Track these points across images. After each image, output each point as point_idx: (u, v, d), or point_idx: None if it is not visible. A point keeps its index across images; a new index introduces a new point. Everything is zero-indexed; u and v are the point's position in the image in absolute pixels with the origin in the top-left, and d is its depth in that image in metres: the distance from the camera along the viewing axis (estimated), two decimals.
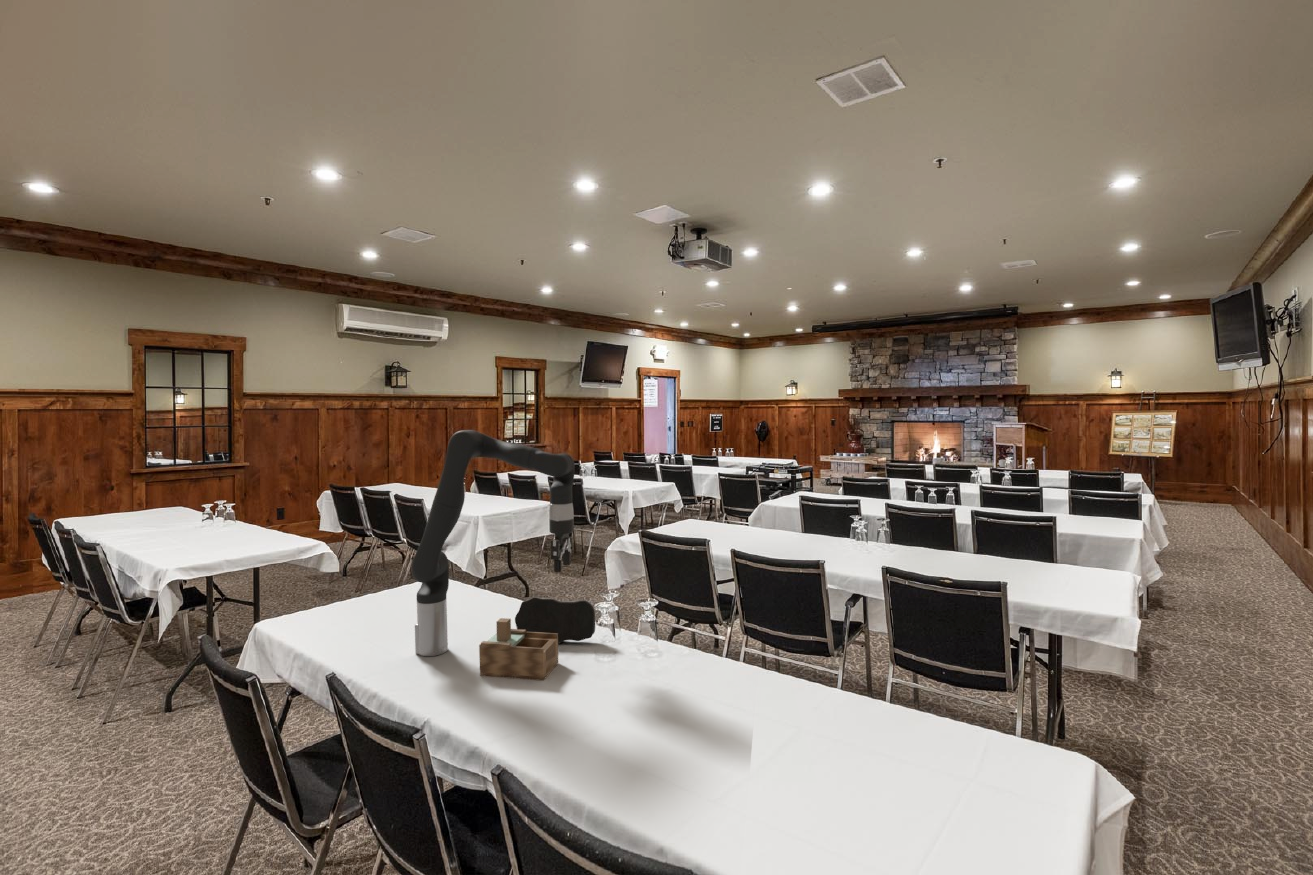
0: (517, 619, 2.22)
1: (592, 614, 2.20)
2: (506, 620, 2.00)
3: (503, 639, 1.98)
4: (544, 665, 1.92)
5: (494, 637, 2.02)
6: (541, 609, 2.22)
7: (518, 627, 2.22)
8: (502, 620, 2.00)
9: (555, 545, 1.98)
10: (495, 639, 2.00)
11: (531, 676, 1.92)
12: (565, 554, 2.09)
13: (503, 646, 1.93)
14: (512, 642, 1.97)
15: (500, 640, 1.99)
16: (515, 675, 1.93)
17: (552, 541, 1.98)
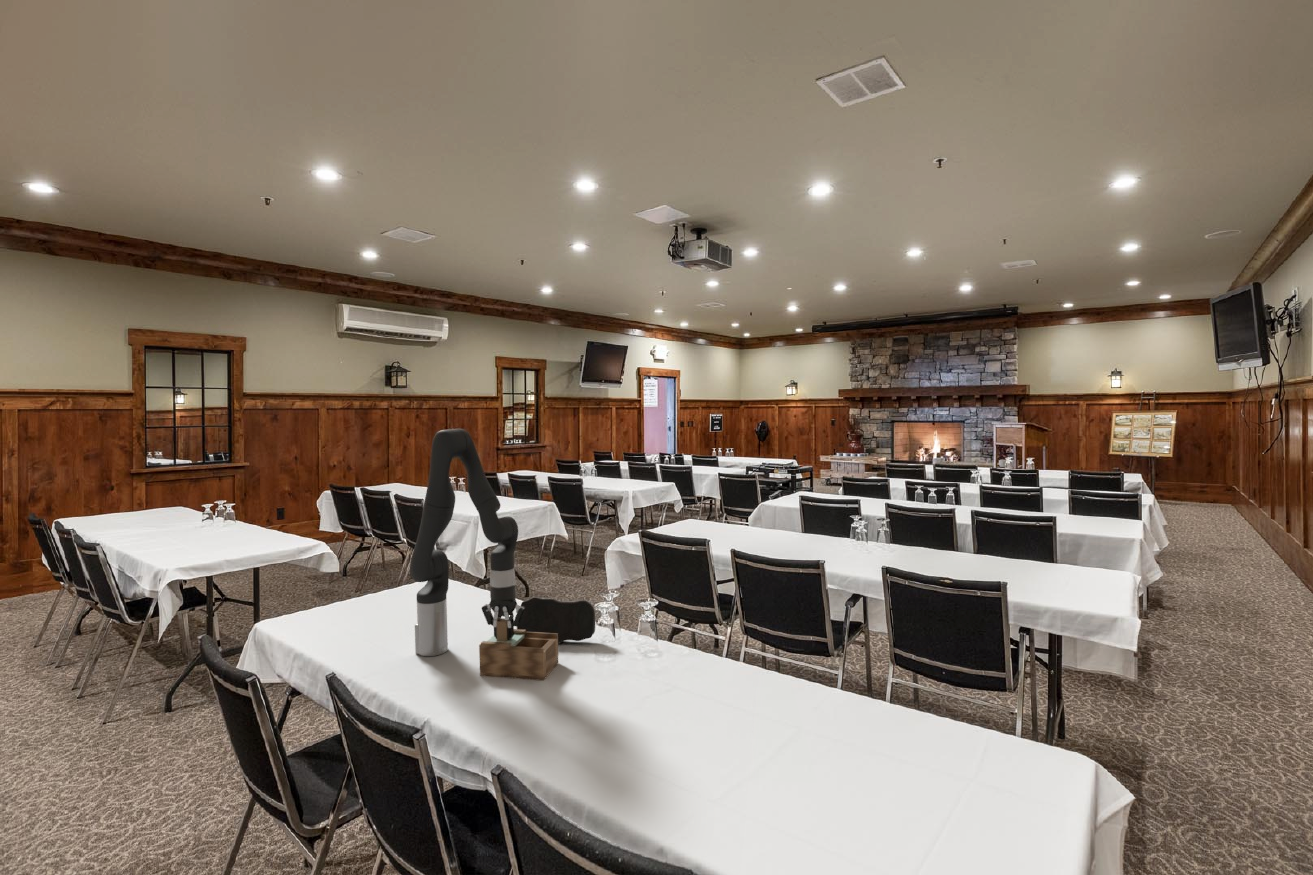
0: None
1: (592, 614, 2.20)
2: None
3: (503, 639, 1.98)
4: (544, 665, 1.92)
5: (494, 637, 2.02)
6: (541, 608, 2.22)
7: (518, 627, 2.22)
8: (502, 620, 2.00)
9: (522, 612, 1.99)
10: (495, 639, 2.00)
11: (531, 676, 1.92)
12: None
13: (503, 646, 1.93)
14: (512, 642, 1.97)
15: (500, 640, 1.99)
16: (515, 675, 1.93)
17: (522, 610, 1.98)
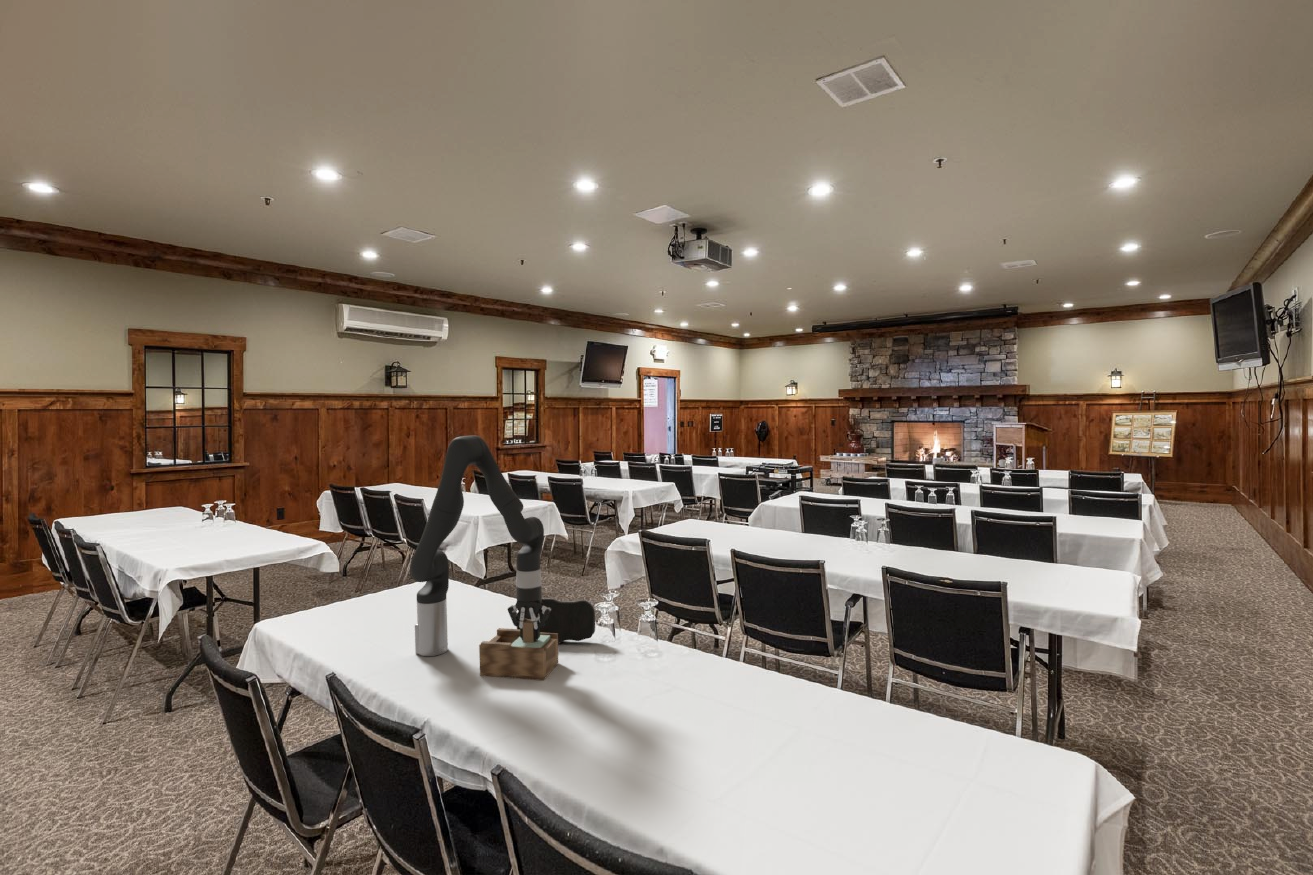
0: None
1: (592, 614, 2.20)
2: None
3: (529, 640, 1.97)
4: (544, 665, 1.92)
5: (520, 638, 2.00)
6: (541, 609, 2.22)
7: (518, 627, 2.22)
8: (528, 621, 1.98)
9: (549, 613, 1.97)
10: (521, 640, 1.98)
11: (531, 676, 1.92)
12: None
13: (503, 646, 1.93)
14: (539, 643, 1.96)
15: (526, 641, 1.97)
16: (515, 675, 1.93)
17: (549, 611, 1.96)
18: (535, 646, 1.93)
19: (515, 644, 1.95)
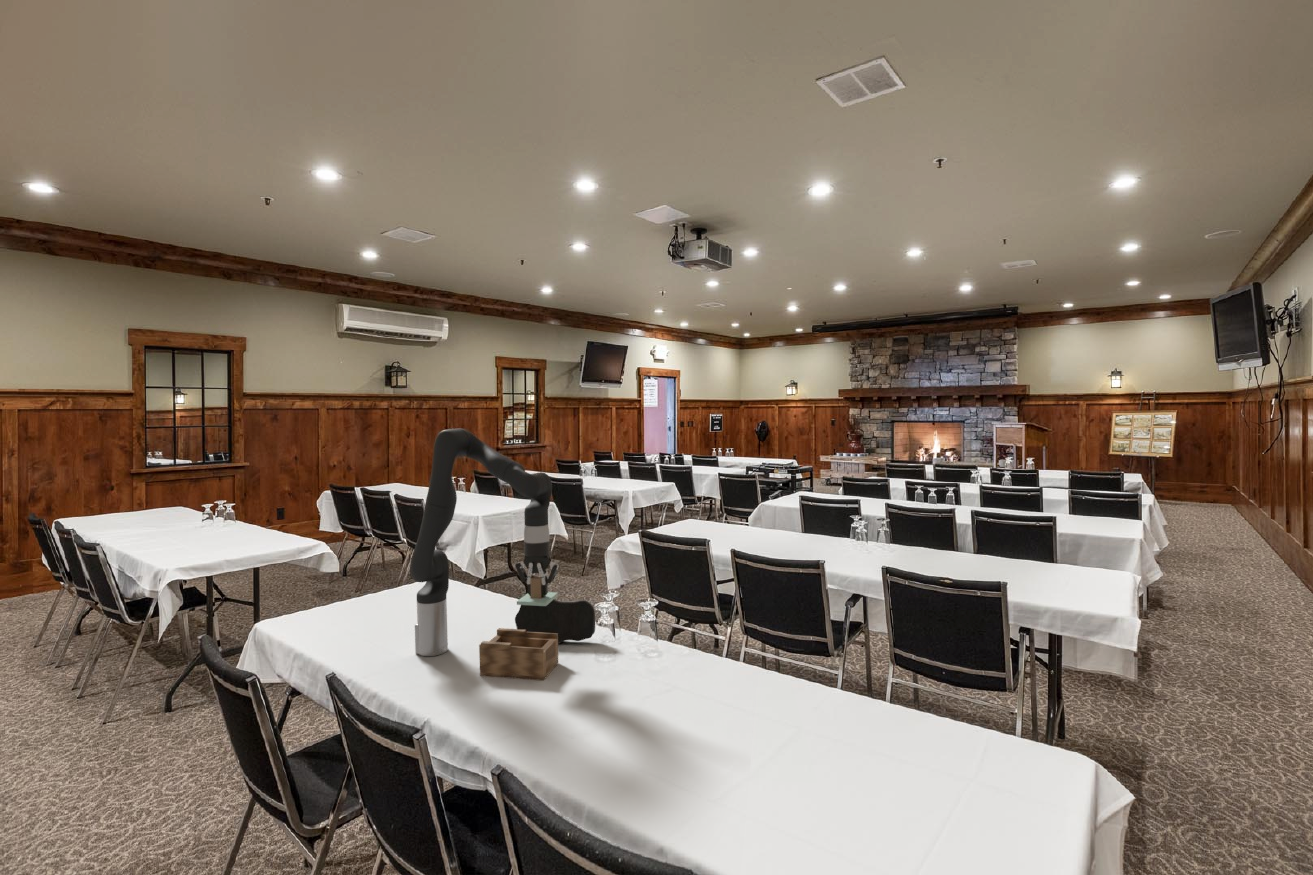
0: (517, 619, 2.22)
1: (592, 614, 2.20)
2: None
3: (537, 596, 1.95)
4: (544, 665, 1.92)
5: (527, 595, 1.99)
6: (541, 609, 2.22)
7: (518, 627, 2.22)
8: (536, 577, 1.97)
9: (557, 569, 1.96)
10: (529, 596, 1.97)
11: (531, 676, 1.92)
12: None
13: (503, 646, 1.93)
14: (546, 599, 1.94)
15: (534, 597, 1.96)
16: (515, 675, 1.93)
17: (557, 566, 1.95)
18: (543, 601, 1.92)
19: (523, 600, 1.94)
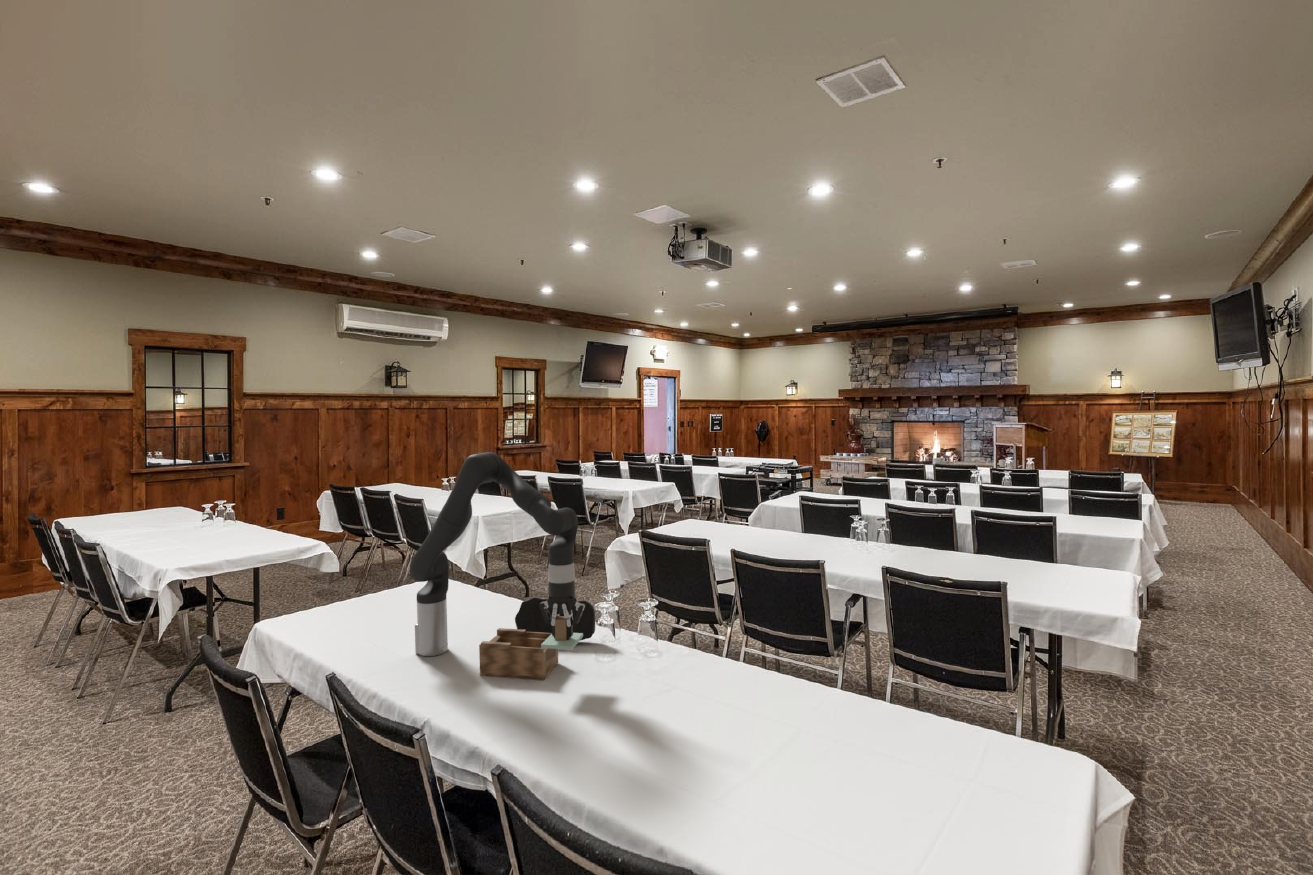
0: (517, 619, 2.22)
1: (592, 614, 2.20)
2: None
3: (562, 638, 1.85)
4: (544, 665, 1.92)
5: (551, 636, 1.89)
6: None
7: (518, 627, 2.22)
8: (561, 618, 1.86)
9: (583, 610, 1.86)
10: (553, 638, 1.87)
11: (531, 676, 1.92)
12: None
13: (503, 646, 1.93)
14: (572, 642, 1.84)
15: (559, 639, 1.85)
16: (515, 675, 1.93)
17: (583, 607, 1.85)
18: (569, 644, 1.82)
19: (547, 642, 1.84)
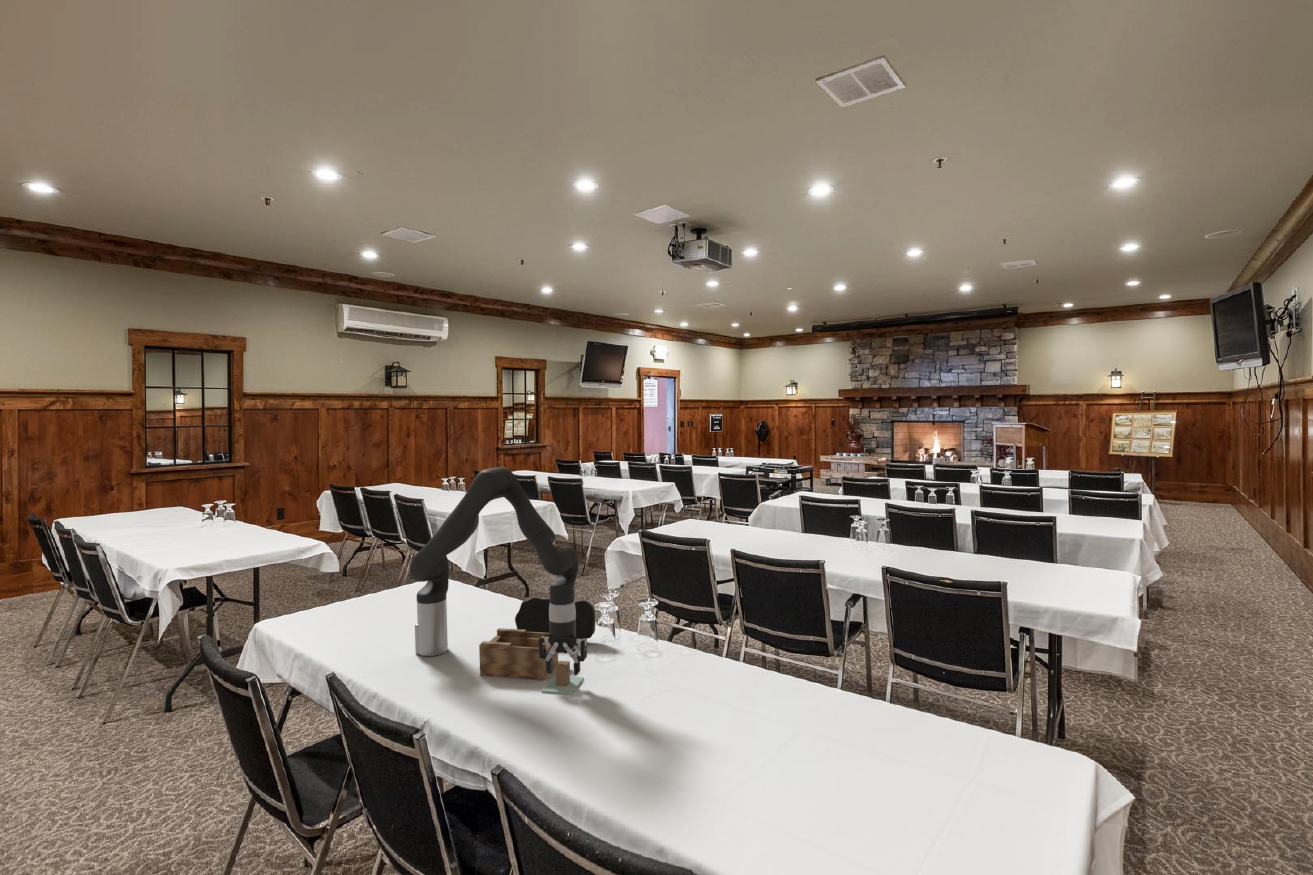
0: (517, 619, 2.22)
1: (592, 614, 2.20)
2: (565, 663, 1.87)
3: (563, 684, 1.86)
4: (544, 665, 1.92)
5: (552, 681, 1.89)
6: (541, 608, 2.22)
7: (518, 627, 2.22)
8: (561, 663, 1.87)
9: (585, 644, 1.86)
10: (553, 683, 1.88)
11: (531, 676, 1.92)
12: (550, 661, 1.88)
13: (503, 646, 1.93)
14: (572, 687, 1.85)
15: (559, 685, 1.86)
16: (515, 675, 1.93)
17: (584, 641, 1.85)
18: (569, 691, 1.83)
19: (548, 688, 1.85)
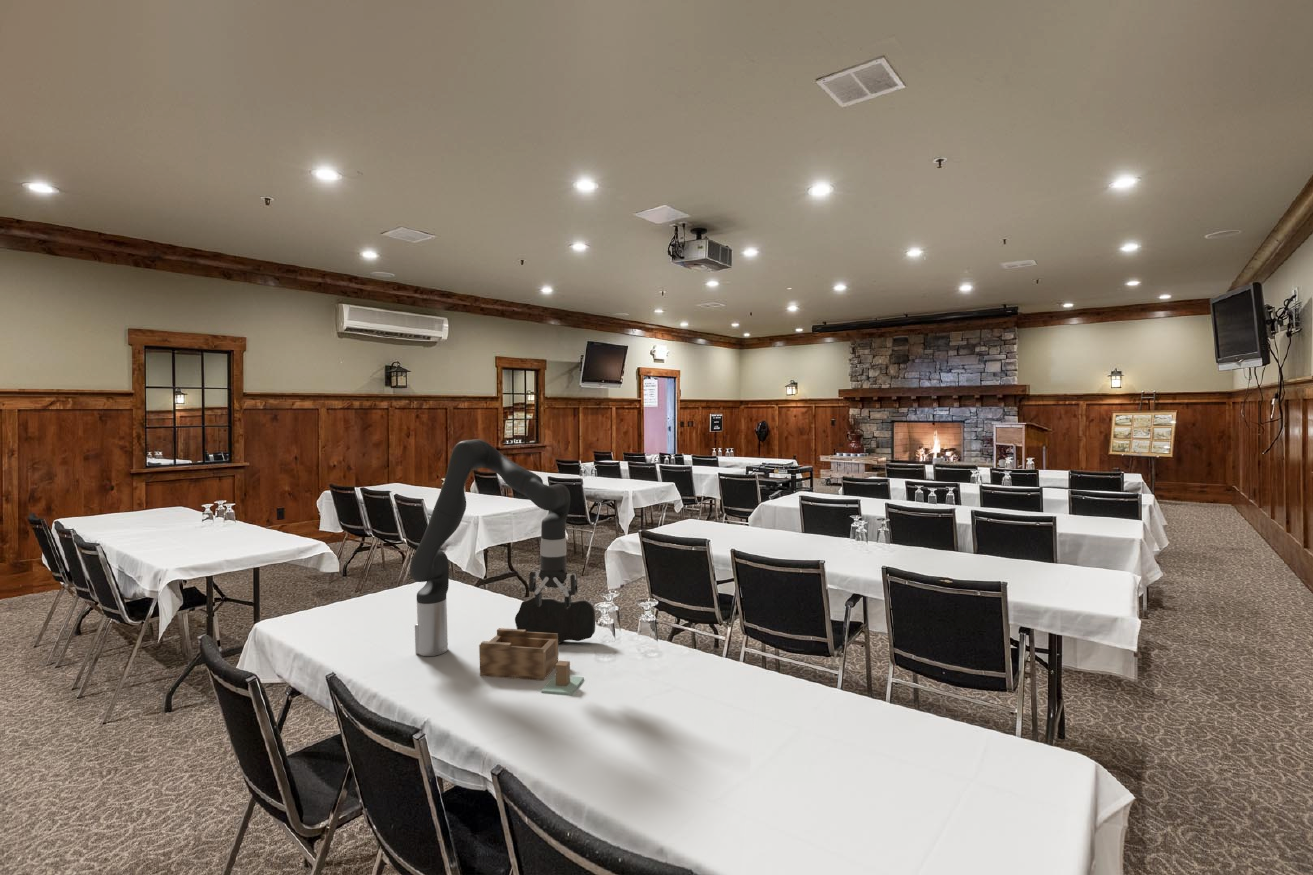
0: (517, 619, 2.22)
1: (592, 614, 2.20)
2: (565, 663, 1.87)
3: (562, 684, 1.86)
4: (544, 665, 1.92)
5: (552, 681, 1.89)
6: (541, 609, 2.22)
7: (518, 627, 2.22)
8: (561, 663, 1.87)
9: (575, 579, 1.91)
10: (553, 683, 1.88)
11: (531, 676, 1.92)
12: (539, 594, 1.92)
13: (503, 646, 1.93)
14: (572, 687, 1.85)
15: (559, 685, 1.86)
16: (515, 675, 1.93)
17: (574, 575, 1.90)
18: (569, 691, 1.83)
19: (548, 688, 1.85)
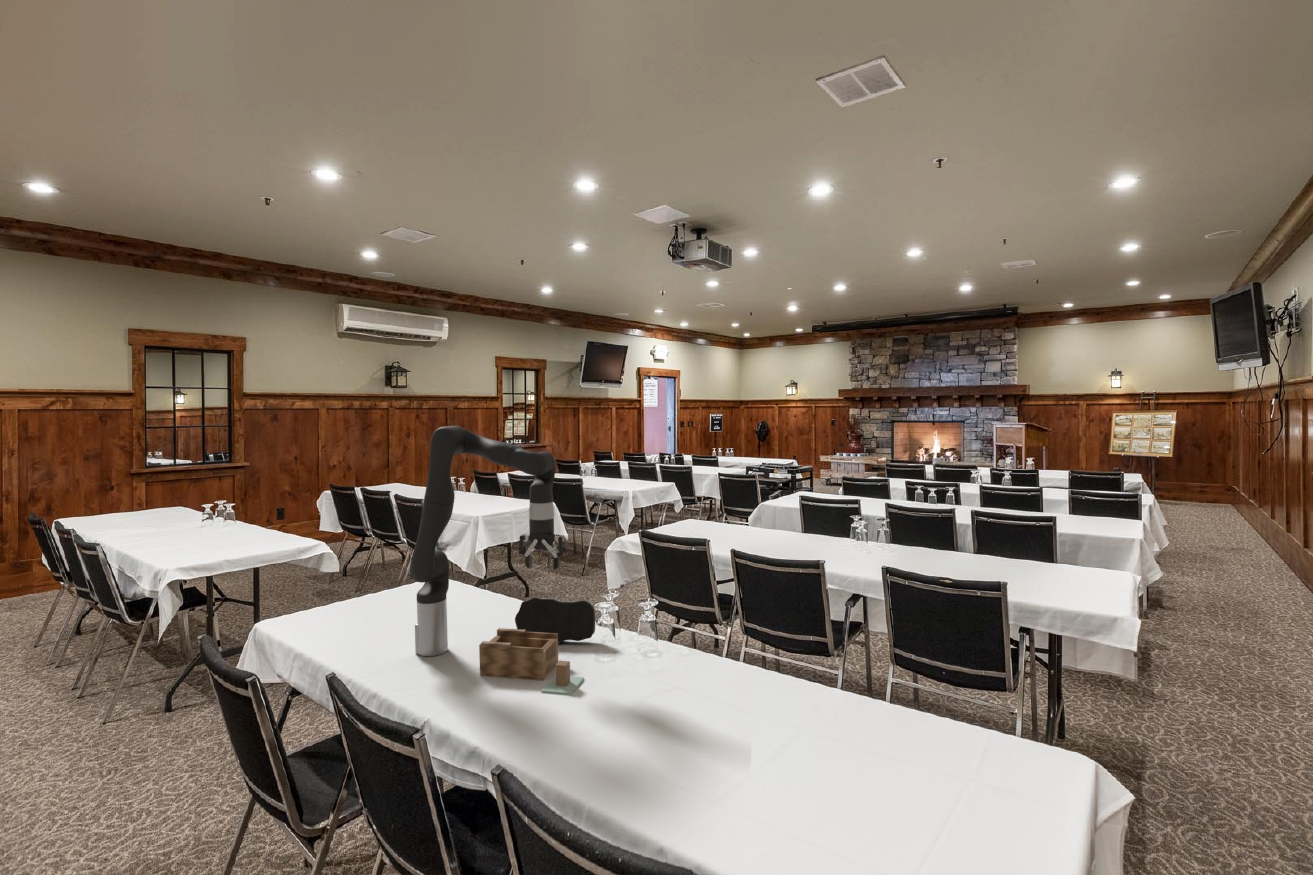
0: (517, 619, 2.22)
1: (592, 614, 2.20)
2: (565, 663, 1.87)
3: (562, 684, 1.86)
4: (544, 665, 1.92)
5: (552, 681, 1.90)
6: (541, 608, 2.22)
7: (518, 627, 2.22)
8: (561, 663, 1.87)
9: (563, 540, 2.00)
10: (554, 683, 1.88)
11: (531, 676, 1.92)
12: (529, 557, 2.02)
13: (503, 646, 1.93)
14: (572, 687, 1.85)
15: (559, 685, 1.86)
16: (515, 675, 1.93)
17: (562, 537, 1.99)
18: (569, 691, 1.83)
19: (547, 688, 1.85)
